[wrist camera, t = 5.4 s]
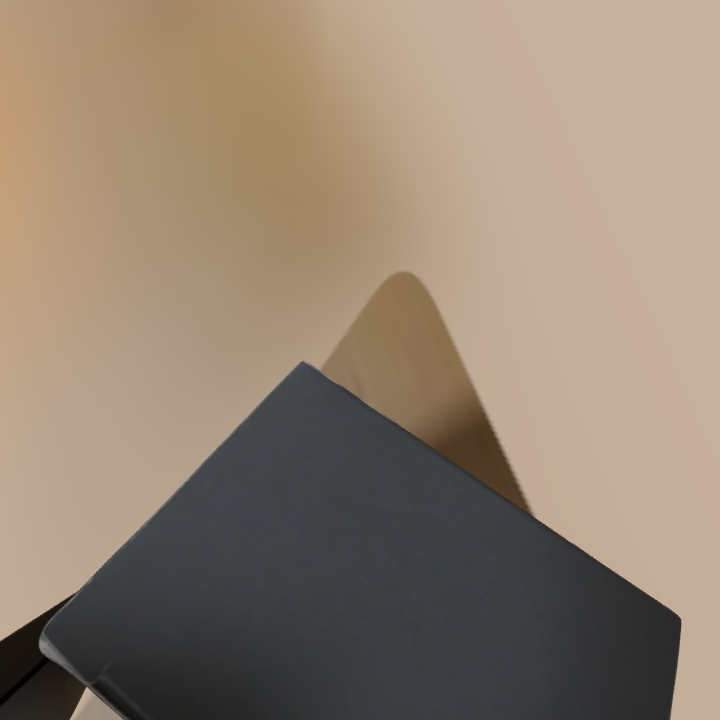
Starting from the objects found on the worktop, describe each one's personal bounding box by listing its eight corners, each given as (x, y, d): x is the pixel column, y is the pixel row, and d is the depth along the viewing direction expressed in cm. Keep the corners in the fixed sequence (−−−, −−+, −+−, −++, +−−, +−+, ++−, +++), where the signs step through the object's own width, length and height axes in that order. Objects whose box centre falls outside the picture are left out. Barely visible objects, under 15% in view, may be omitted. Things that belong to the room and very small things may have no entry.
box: (458, 623, 16) (701, 619, 7) (373, 809, 13) (606, 1236, 4) (287, 491, 17) (302, 345, 8) (176, 632, 14) (9, 644, 5)
